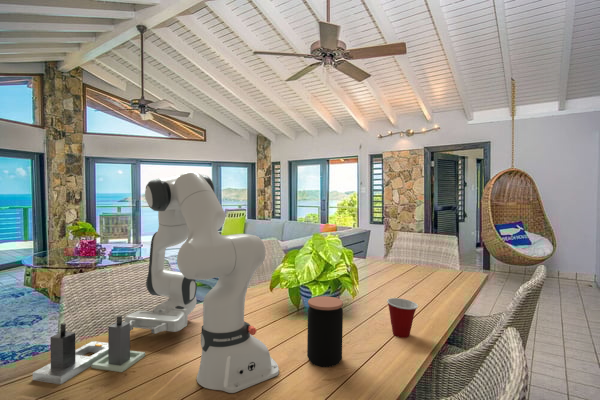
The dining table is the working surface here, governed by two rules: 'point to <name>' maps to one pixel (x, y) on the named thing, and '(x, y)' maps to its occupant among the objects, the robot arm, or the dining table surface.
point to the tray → (104, 365)
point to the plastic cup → (401, 316)
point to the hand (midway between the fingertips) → (140, 329)
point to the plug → (118, 342)
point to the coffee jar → (325, 331)
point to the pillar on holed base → (68, 358)
